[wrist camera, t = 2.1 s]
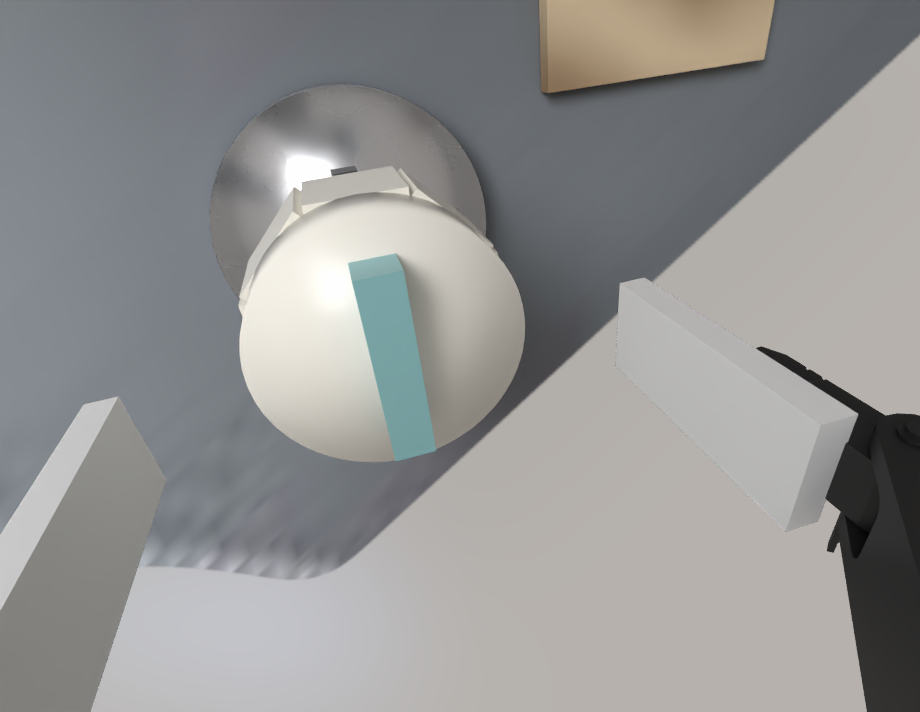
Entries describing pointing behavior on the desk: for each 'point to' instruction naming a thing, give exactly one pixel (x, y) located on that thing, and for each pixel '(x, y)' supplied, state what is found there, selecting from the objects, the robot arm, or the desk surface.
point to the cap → (376, 319)
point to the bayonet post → (329, 161)
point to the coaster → (645, 38)
